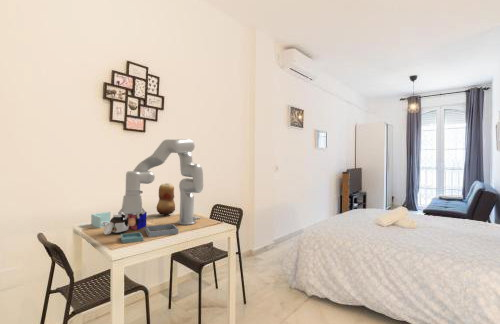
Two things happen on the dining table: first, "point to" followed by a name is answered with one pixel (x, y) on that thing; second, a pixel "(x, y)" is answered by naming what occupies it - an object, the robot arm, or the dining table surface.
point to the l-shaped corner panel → (100, 219)
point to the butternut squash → (166, 199)
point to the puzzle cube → (141, 221)
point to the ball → (131, 222)
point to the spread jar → (116, 225)
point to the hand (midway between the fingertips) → (131, 225)
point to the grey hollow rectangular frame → (163, 232)
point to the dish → (131, 237)
